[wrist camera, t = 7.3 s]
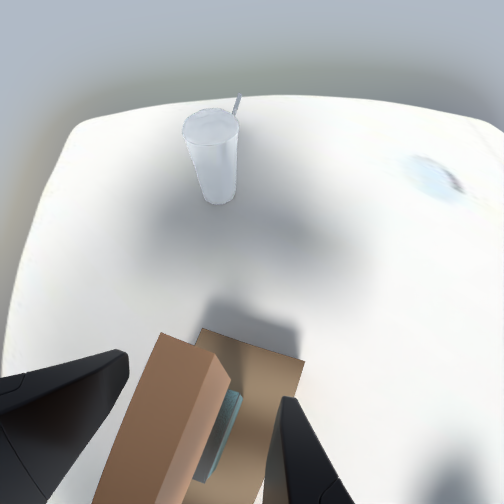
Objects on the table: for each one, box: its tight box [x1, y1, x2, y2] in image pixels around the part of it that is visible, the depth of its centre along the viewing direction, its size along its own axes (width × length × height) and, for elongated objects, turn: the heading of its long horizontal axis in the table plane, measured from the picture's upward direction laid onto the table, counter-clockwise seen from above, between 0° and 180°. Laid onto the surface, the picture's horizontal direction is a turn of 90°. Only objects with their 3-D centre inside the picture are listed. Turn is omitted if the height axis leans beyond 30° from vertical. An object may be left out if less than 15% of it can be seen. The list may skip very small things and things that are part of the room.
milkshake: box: [182, 93, 242, 205], centre depth 26 cm, size 4×5×10 cm
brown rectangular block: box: [91, 333, 231, 504], centre depth 6 cm, size 5×1×4 cm, turn 161°
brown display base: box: [182, 328, 305, 504], centre depth 15 cm, size 12×7×8 cm, turn 161°
